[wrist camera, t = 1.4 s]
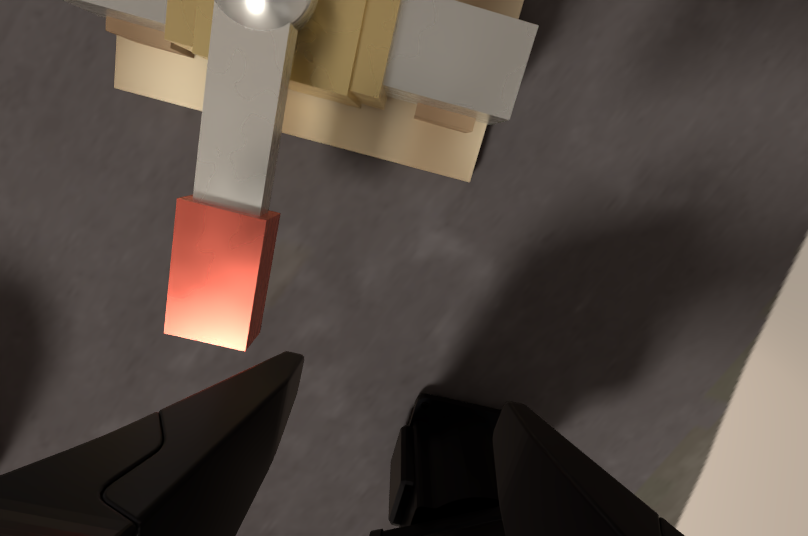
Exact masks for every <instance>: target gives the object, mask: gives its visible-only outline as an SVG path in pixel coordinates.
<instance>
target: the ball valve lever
mask: <svg viewBox="0 0 808 536" xmlns="http://www.w3.org/2000/svg"><path fill="white" fill-rule="evenodd" d="M317 3H318V0H214V8H213V17H212V27H211V36H210V45H209V54H208V63H207V73H206V82H205V91H204V100H203V109H202V119H201V128H200V137H199V146H198V155H197V165H196V174H195V183H194V192H193V195H190V196H185V197H180V198H177V204H176V214H175V224H174V234H173V244H172V255H171V265H170V275H169V285H168V296H167V306H166V316H165V326H164V333H166V334H170V335H175V336H179V337H184V338H188V339H193V340H197V341H201V342H206V343H210V344H215V345H219V346H224V347H228V348H233V349H237V350H241V351H246V350H247V348H248V347H249V346H250V345H251V343H252V342H253V341H254V339H255V338H256V337H257V336H258V334H259V333H260V330H261V324H262V318H263V312H264V306H265V300H266V295H267V289H268V283H269V277H270V271H271V265H272V260H273V254H274V248H275V242H276V236H277V230H278V225H279V219H280V213H277V212H273V211H269V205H270V199H271V193H272V187H273V181H274V175H275V169H276V162H277V156H278V150H279V144H280V138H281V132H282V126H283V119H284V113H285V107H286V101H287V95H288V89H289V83H290V76H291V70H292V64H293V58H294V52H295V46H296V40H297V33H298V31H299V30H300V29H301V28H303V27H304V26H305V25H306V24H307V22H308V21H309V20H310V18H311V17H312V15H313V13H314V11H315V8H316V6H317Z"/></svg>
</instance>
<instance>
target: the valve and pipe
mask: <svg viewBox="0 0 808 536" xmlns="http://www.w3.org/2000/svg"><path fill="white" fill-rule="evenodd" d="M63 1H66V2H68V3H70V4H72V5H75V6H77V7H79V8H82V9H84V10H86V11H88V12H91V13H93V14H95V15H98V16H100V17H103V18H106V16H109V17H112V18H116V19H120V20H123V21H127V22H130V23H134V24H138V25H141V26H145V27H148V28H152V29H156V30H159V31H163V32H165V36H164V39H165V40H167V41H169V42H172V43H174V44H176V45H178V46H180V47H182V48H185V49H187V50H189V51H191V52H192V53H193V54H195V55H197V56H199V57H202V58H204V59H206V60H208V54H209V45H210V36H211V27H212V17H213V8H214V0H63ZM538 26H539V25H536V24H532V23H529V22H526V21H522V20H519V19H515V18H512V17H509V16H505V15H502V14H499V13H495V12H492V11H489V10H485V9H482V8H479V7H475V6H472V5H469V4H465V3H462V2H459V1H455V0H318V3H317V6H316V8H315V11H314V13H313V15H312V17H311V18H310V20H309V21H308V22H307V24H306V25H305V26H304V27H303V28H301V29H300V30H299V31H298V33H297V40H296V46H295V52H294V58H293V64H292V70H291V76H290V83H289V89H290V90H293V91H297V92H301V93H304V94H308V95H312V96H315V97H319V98H323V99H326V100H330V101H334V102H337V103H341V104H344V105H348V106H352V107H355V108H359V109H361V105H362V104H365V105H368V106H372V107H375V108H379V109H383V110H384V109H385V104H386V100H387V96H388V97H391V98H395V99H399V100H402V101H406V102H409V103H413V104H418V103H422V104H425V105H429V106H432V107H436V108H440V109H443V110H447V111H450V112H454V113H458V114H461V115H465V116H468V117H472V118H476V121H478V122H482V123H485V124H489V125H493V124H497V123H501V122H504V121H508V120H509V119H510V116H511V113H512V110H513V106H514V103H515V100H516V97H517V93H518V90H519V87H520V84H521V81H522V77H523V74H524V71H525V68H526V65H527V61H528V58H529V55H530V52H531V49H532V45H533V42H534V39H535V36H536V33H537V29H538Z"/></svg>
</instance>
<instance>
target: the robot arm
mask: <svg viewBox="0 0 808 536" xmlns="http://www.w3.org/2000/svg"><path fill="white" fill-rule="evenodd" d="M303 363H304V356H303V355H301V354H297V353H293V352H288V351H286V352H283V353H281V354H279V355H277V356H275V357H272V358H270V359H268V360H266V361H264V362H262V363H260V364H258V365H255V366H253V367H251V368H249V369H247V370H245V371H243V372H240V373H238V374H236V375H234V376H232V377H230V378H228V379H226V380H223V381H221V382H219V383H217V384H215V385H213V386H211V387H208V388H206V389H204V390H202V391H200V392H198V393H196V394H194V395H191V396H189V397H187V398H185V399H183V400H181V401H179V402H176V403H174V404H172V405H170V406H168V407H166V408H164V409H162V410H160V411H159V413H158V412H155V413H153V414H151V415H148V416H146V417H144V418H142V419H140V420H138V421H135V422H133V423H131V424H129V425H126V426H124V427H122V428H120V429H117V430H115V431H113V432H111V433H108V434H106V435H104V436H101V437H99V438H96V439H94V440H91V441H89V442H86V443H84V444H81V445H79V446H76V447H74V448H71V449H69V450H66V451H63V452H61V453H58V454H55V455H53V456H50V457H48V458H45V459H42V460H40V461H37V462H34V463H32V464H29V465H27V466H24V467H21V468H19V469H16V470H13V471H11V472H8V473H5V474H3V475H0V536H236V534H237V532H238V530H239V528H240V526H241V524H242V522H243V520H244V518H245V516H246V514H247V512H248V510H249V508H250V506H251V504H252V502H253V500H254V498H255V496H256V494H257V492H258V490H259V488H260V486H261V484H262V482H263V480H264V478H265V476H266V474H267V472H268V470H269V467H270V465H271V463H272V461H273V459H274V456H275V454H276V451H277V449H278V446H279V443H280V440H281V437H282V435H283V432H284V429H285V426H286V423H287V420H288V418H289V415H290V412H291V409H292V406H293V404H294V401H295V398H296V395H297V391H298V387H299V382H300V377H301V373H302V368H303ZM423 402H428V404H427V405H422V404H421V403H423ZM389 521H390V523H391V524H392V525H395V526H399V528H395V529H390V530H386V531H383V529H378V530H373V531H371V532H370V535H369V536H684V535H683V534H682V533H681V532H679V531H678V530H677V529H676V528H674V527H673V526H672V525H671V524H670V523H668V522H667V521H666V520H665V519H664V518H661V517H660V518H659V515H658V514H657V513H656V512H655V511H654V510H652V509H651V508H650V507H649V506H648V505H646V504H645V503H644V502H643V501H641V500H640V499H639V498H638V497H637V496H635V495H634V494H633V493H632V492H630V491H629V490H628V489H627V488H626V487H624V486H623V485H622V484H621V483H619V482H618V481H617V480H616V479H615V478H613V477H612V476H611V475H610V474H608V473H607V472H606V471H605V470H604V469H602V468H601V467H600V466H599V465H597V464H596V463H595V462H594V461H593V460H591V459H590V458H589V457H588V456H587V455H585V454H584V453H583V452H582V451H580V450H579V449H578V448H577V447H576V446H574V445H573V444H572V443H571V442H569V441H568V440H567V439H566V438H565V437H563V436H562V435H561V434H560V433H558V432H557V431H556V430H555V429H554V428H552V427H551V426H550V425H549V424H547V423H546V422H545V421H544V420H543V419H541V418H540V417H539V416H538V415H537V414H535V413H534V412H533V411H532V410H530V409H529V408H528V407H527V406H525V405H523V404H520V403H515V402H511V401H508V402H506V403H505V404H504V406H503V408H502V411H501V410H496V409H492V408H488V407H483V406H479V405H474V404H470V403H465V402H461V401H456V400H452V399H448V398H443V397H439V396H434V395H430V394H421V395H419V396H418V397H417V399H416V402H415V405H414V408H413V411H412V415H411V418H410V421H409V424H408V426H407V425H405V426H403V427H402V428H401V430H400V433H399V436H398V440H397V443H396V446H395V449H394V453H393V456H392V459H391V469H390V494H389Z"/></svg>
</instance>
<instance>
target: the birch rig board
mask: <svg viewBox="0 0 808 536" xmlns="http://www.w3.org/2000/svg"><path fill="white" fill-rule="evenodd" d="M455 1H459V2H462V3H465V4H469V5H472V6H475V7H479V8H482V9H485V10H489V11H492V12H495V13H499V14H502V15H505V16H509V17H512V18H515V19H519V15H520V12H521V9H522V5H523V2H524V0H455ZM106 31H108V32H111V33H113V34H116V35H117V42H116V62H115V82H114V88H117V89H121V90H124V91H128V92H132V93H136V94H140V95H143V96H147V97H151V98H155V99H158V100H162V101H166V102H170V103H173V104H177V105H181V106H185V107H188V108H192V109H196V110H200V111H202V109H203V100H204V91H205V82H206V73H207V63H208V60H206V59H204V58H202V57H199V56H197V55H195V54H193V53H192V52H191V51H189V50H187V49H185V48H182V47H180V46H178V45H176V44H174V43H172V42H169V41H167V40H165V39H164V36H165V32H163V31H159V30H156V29H152V28H148V27H145V26H141V25H138V24H134V23H130V22H127V21H123V20H120V19H116V18H112V17H109V16H106ZM486 126H487V124H485V123H482V122H478V121H476V118H472V117H468V116H465V115H461V114H458V113H454V112H450V111H447V110H443V109H440V108H436V107H432V106H429V105H425V104H422V103H418V104H413V103H409V102H406V101H402V100H399V99H395V98H391V97H388V96H387V100H386V104H385V109H384V110H383V109H379V108H375V107H372V106H368V105H365V104H362V105H361V109H359V108H355V107H352V106H348V105H344V104H341V103H337V102H334V101H330V100H326V99H323V98H319V97H315V96H312V95H308V94H304V93H301V92H297V91H293V90H290V89H288V95H287V101H286V107H285V113H284V119H283V126H282V133H286V134H290V135H294V136H297V137H301V138H305V139H309V140H313V141H316V142H320V143H324V144H328V145H331V146H335V147H339V148H343V149H346V150H350V151H354V152H358V153H361V154H365V155H369V156H373V157H376V158H380V159H384V160H388V161H391V162H395V163H399V164H403V165H407V166H410V167H414V168H418V169H422V170H425V171H429V172H433V173H437V174H440V175H444V176H448V177H452V178H455V179H459V180H463V181H467V182H470V180H471V176H472V173H473V170H474V166H475V163H476V160H477V156H478V153H479V150H480V146H481V143H482V139H483V136H484V133H485V129H486Z"/></svg>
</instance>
